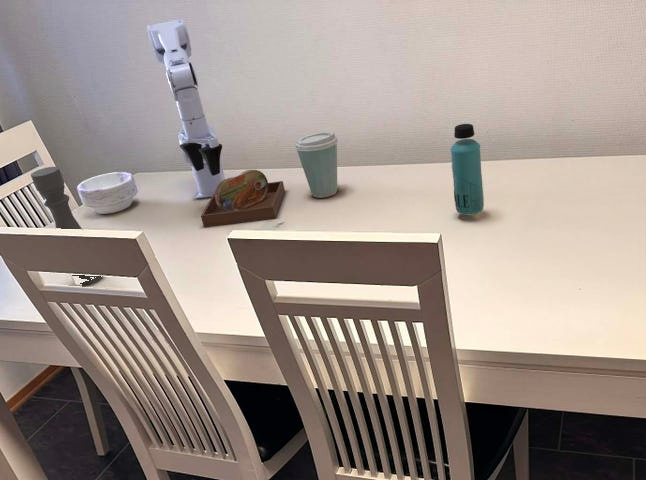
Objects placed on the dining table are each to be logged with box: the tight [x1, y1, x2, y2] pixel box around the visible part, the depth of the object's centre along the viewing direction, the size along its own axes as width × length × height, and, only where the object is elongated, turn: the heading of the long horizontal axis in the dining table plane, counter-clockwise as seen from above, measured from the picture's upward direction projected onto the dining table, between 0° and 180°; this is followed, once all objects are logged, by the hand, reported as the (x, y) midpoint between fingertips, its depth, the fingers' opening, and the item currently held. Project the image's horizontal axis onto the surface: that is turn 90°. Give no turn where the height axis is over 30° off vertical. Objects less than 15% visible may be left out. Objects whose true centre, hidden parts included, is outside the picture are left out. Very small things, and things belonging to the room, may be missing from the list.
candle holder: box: [30, 166, 103, 287], centre depth 151 cm, size 6×6×25 cm
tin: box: [215, 169, 269, 212], centre depth 179 cm, size 15×3×8 cm, turn 133°
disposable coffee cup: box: [295, 130, 339, 199], centre depth 178 cm, size 11×11×15 cm
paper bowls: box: [76, 171, 139, 215], centre depth 195 cm, size 15×15×8 cm
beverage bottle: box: [450, 123, 485, 215], centre depth 151 cm, size 6×7×20 cm
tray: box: [200, 180, 286, 228], centre depth 180 cm, size 18×18×3 cm
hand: (207, 172), depth 177 cm, fingers open, 7 cm apart
